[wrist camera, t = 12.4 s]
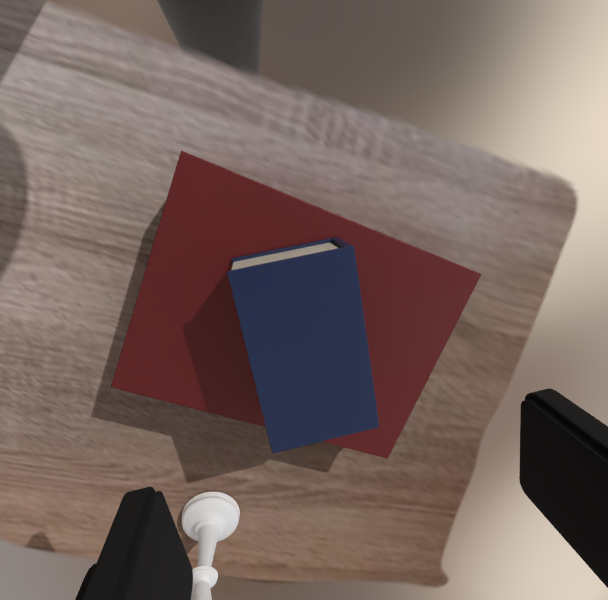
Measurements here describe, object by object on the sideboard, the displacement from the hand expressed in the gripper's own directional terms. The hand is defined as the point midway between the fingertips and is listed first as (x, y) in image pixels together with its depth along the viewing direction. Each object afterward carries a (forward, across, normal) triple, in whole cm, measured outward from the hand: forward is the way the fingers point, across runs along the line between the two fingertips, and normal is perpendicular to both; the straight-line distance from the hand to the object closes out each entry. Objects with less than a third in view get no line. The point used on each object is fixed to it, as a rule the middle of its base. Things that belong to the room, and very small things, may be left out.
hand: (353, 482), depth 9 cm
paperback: (+15, 0, +2) cm, 15 cm away
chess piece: (+19, +10, +19) cm, 29 cm away
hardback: (+19, 0, +2) cm, 19 cm away
